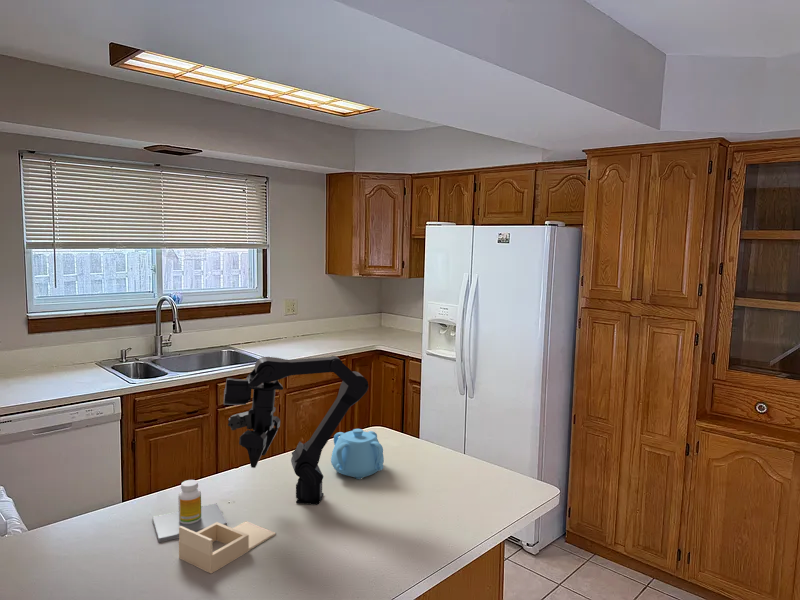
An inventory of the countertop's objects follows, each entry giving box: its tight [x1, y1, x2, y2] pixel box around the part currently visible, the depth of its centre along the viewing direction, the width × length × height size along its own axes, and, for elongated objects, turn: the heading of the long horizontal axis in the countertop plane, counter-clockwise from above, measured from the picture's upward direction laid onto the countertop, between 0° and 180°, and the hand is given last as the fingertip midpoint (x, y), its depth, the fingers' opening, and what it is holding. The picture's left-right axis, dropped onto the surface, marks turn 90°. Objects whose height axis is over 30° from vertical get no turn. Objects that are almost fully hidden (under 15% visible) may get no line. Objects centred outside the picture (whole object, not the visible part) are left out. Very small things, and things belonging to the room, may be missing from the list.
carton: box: [178, 521, 276, 574], centre depth 133 cm, size 20×11×8 cm, turn 148°
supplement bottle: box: [177, 479, 202, 524], centre depth 143 cm, size 5×5×10 cm
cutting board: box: [152, 503, 228, 543], centre depth 144 cm, size 16×12×1 cm
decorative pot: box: [330, 428, 385, 480], centre depth 178 cm, size 16×16×14 cm
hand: (258, 461), depth 153 cm, fingers open, 9 cm apart
